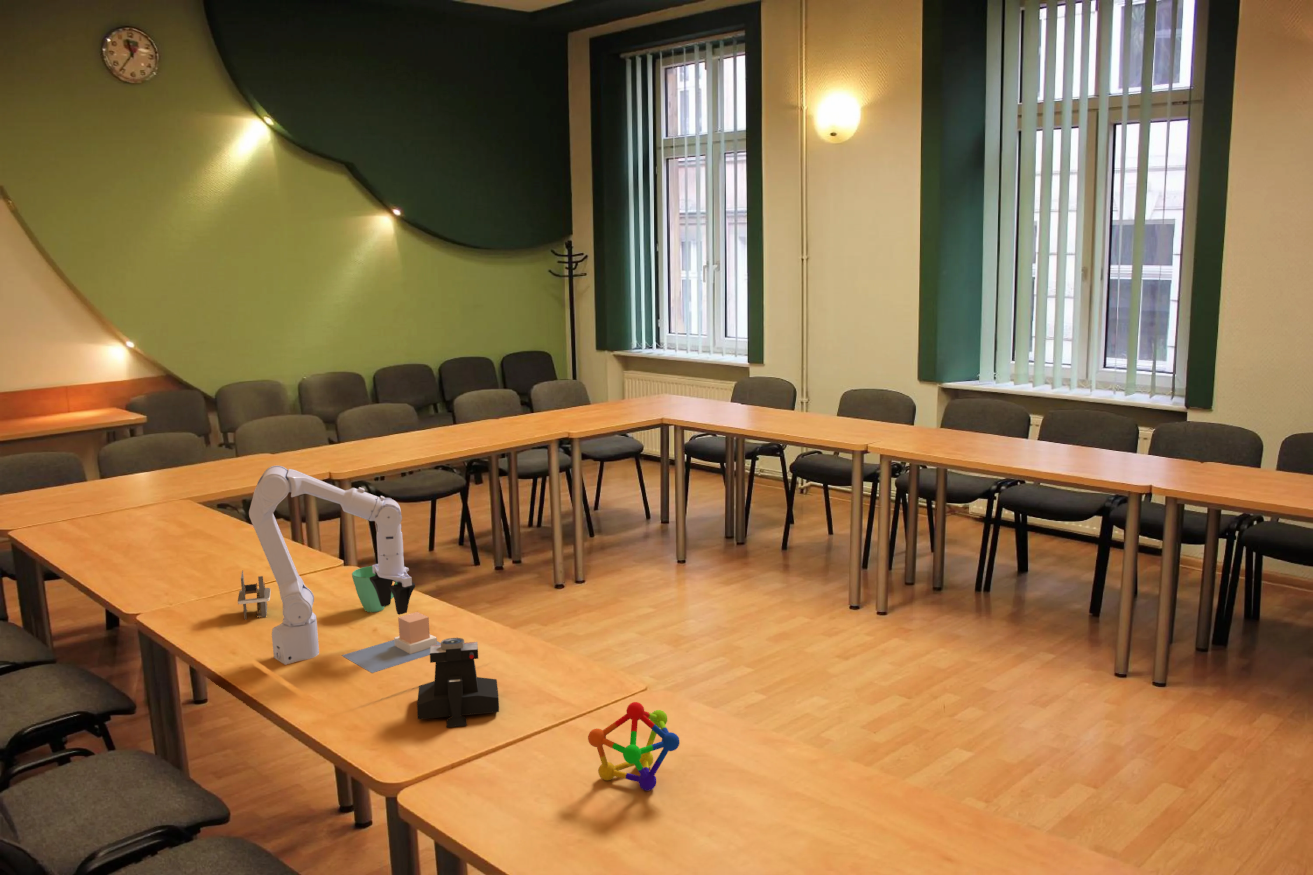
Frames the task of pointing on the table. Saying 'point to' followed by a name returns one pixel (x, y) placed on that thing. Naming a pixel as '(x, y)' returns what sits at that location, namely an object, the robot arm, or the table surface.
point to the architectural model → (261, 599)
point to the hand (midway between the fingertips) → (393, 609)
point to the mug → (367, 589)
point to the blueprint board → (391, 653)
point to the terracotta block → (414, 627)
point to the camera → (456, 685)
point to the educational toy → (632, 752)
